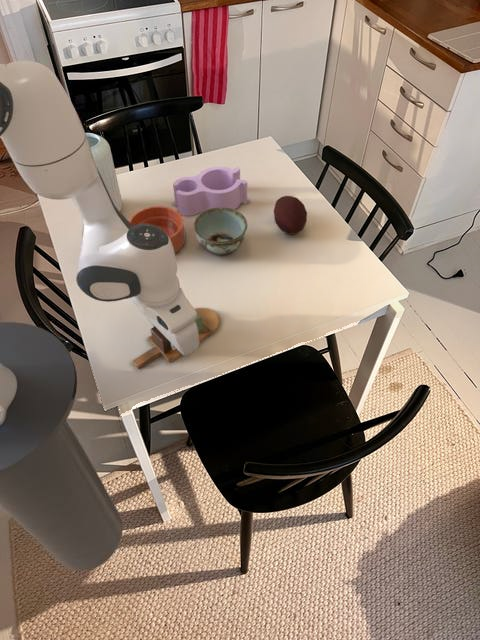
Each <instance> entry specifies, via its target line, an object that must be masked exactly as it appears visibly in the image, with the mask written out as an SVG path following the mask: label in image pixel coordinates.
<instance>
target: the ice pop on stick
mask: <svg viewBox="0 0 480 640" xmlns="http://www.w3.org/2000/svg"><path fill="white" fill-rule="evenodd" d="M194 309H195V311H196V312H197V313H198V314H199V315H200V316H201V317H202V326H203V330H201V331H200V332H198V335H199V343H201V342H203V341H204V340H206V339H207V338H208V337H210V336H212V335H213V334H214V333H216V331H217V330H218V329H219V325H220V319H219V316H218V314H217V313H216V312H215V311H214V310H212V309H210V308H206V307H197V308H194ZM147 340H148V341H149V342H150V344H151V345H152V346H153V347H151V348H150V349H148V350H147V351H145V352H144V353H142V354H141V355H139V356H137V357H135V358H134V359H133V360H132V364H133V365H134V366H135V367H136V368H137V369H141V368H142V367H144V366H145V365H147V364H148V363H150V362H151V361H153V360H154V359H156V358H157V357H159V356H160V355H161V356H162V357H163V358H164V359H165V360H167V362H168V363H171V362H172V361H174V360H175V359H177V358H178V357H180V356H182V354H181V353H180V352H179V351H178V349H177V348H176V349H175V350H173V349H172V350H170V351H169V352H167V353H166V354H164V353H163V351H162V350H161V349H160V348H159V347H158V346H157V345H156V344H155V343H154V342H153V339H152V335H150V336H148V337H147Z"/></svg>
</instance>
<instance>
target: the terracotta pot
mask: <svg viewBox="0 0 480 640" xmlns="http://www.w3.org/2000/svg"><path fill="white" fill-rule="evenodd" d="M128 221H129V222H130V223H131V225H132V226H135V225H138V224H152V225H155V226H158V227H160V228H161V229H162V230H164V231H165V232H166V233H167V235H168V236H169V238H170V240H171V242H172V245H173V248H174V252H175V253H177V252H179V250H180V249H182V247H183V246H184V244H185V242H186V230H185V221H184V217H183V215H182V214H180V213H179V212H178V210H177V209H174V208H172V207H169V206H164V205H155V206H148V207H145V208H142V209H140V210H138V211H136V212H135V213H134V214H132V216H131V217H130V219H129V220H128Z"/></svg>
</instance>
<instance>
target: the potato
mask: <svg viewBox="0 0 480 640" xmlns="http://www.w3.org/2000/svg"><path fill="white" fill-rule="evenodd" d="M273 207H274V208H273V218H274V222H275V224H276V226H277V227H278V229H280V230H281V231H282V232H284V233H285V234H288V235H296V234H299V233H301V232H302V230H304V228H305V226H306V224H307V220H308V212H307V209H306V206H305V204H304V203H303V202H302V201H301V200H300V199H299V198H298V197H295V196H293V195H284V196H281V197H280V198H278V199H277V200H276V201H275V204H274V206H273Z"/></svg>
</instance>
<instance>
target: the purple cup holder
mask: <svg viewBox="0 0 480 640" xmlns="http://www.w3.org/2000/svg"><path fill="white" fill-rule="evenodd" d="M172 188H173V189H172V190H173V197H174V204H175V206H176V207H177V212H179V213H180V214H181V216H187V217H189V216H195V215H199V214H201V213H202V212H204V211H206V210H208V209H212V208H218V207H225V208H231V209H234V210H237V208H239V206H241V204H243V205H246V204H247V203H248V180H246V179H242V178H241V168H240V167H237V166H236V167H235V168H234V169H233V168H229V167H225V166H214V167H213V166H212V167H209V168H205V169H204V170H202V171H200V172H199V173H198V174H196V175H194V176H184V177H180V178H178V179H176V180H175V181H174V182H173V183H172Z"/></svg>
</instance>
